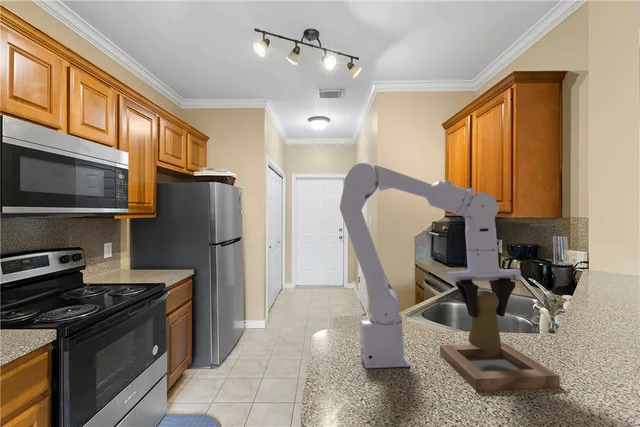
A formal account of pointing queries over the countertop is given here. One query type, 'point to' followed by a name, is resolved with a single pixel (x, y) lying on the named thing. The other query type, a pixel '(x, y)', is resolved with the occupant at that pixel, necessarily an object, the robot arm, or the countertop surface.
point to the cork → (485, 322)
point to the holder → (498, 368)
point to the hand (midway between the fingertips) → (486, 315)
